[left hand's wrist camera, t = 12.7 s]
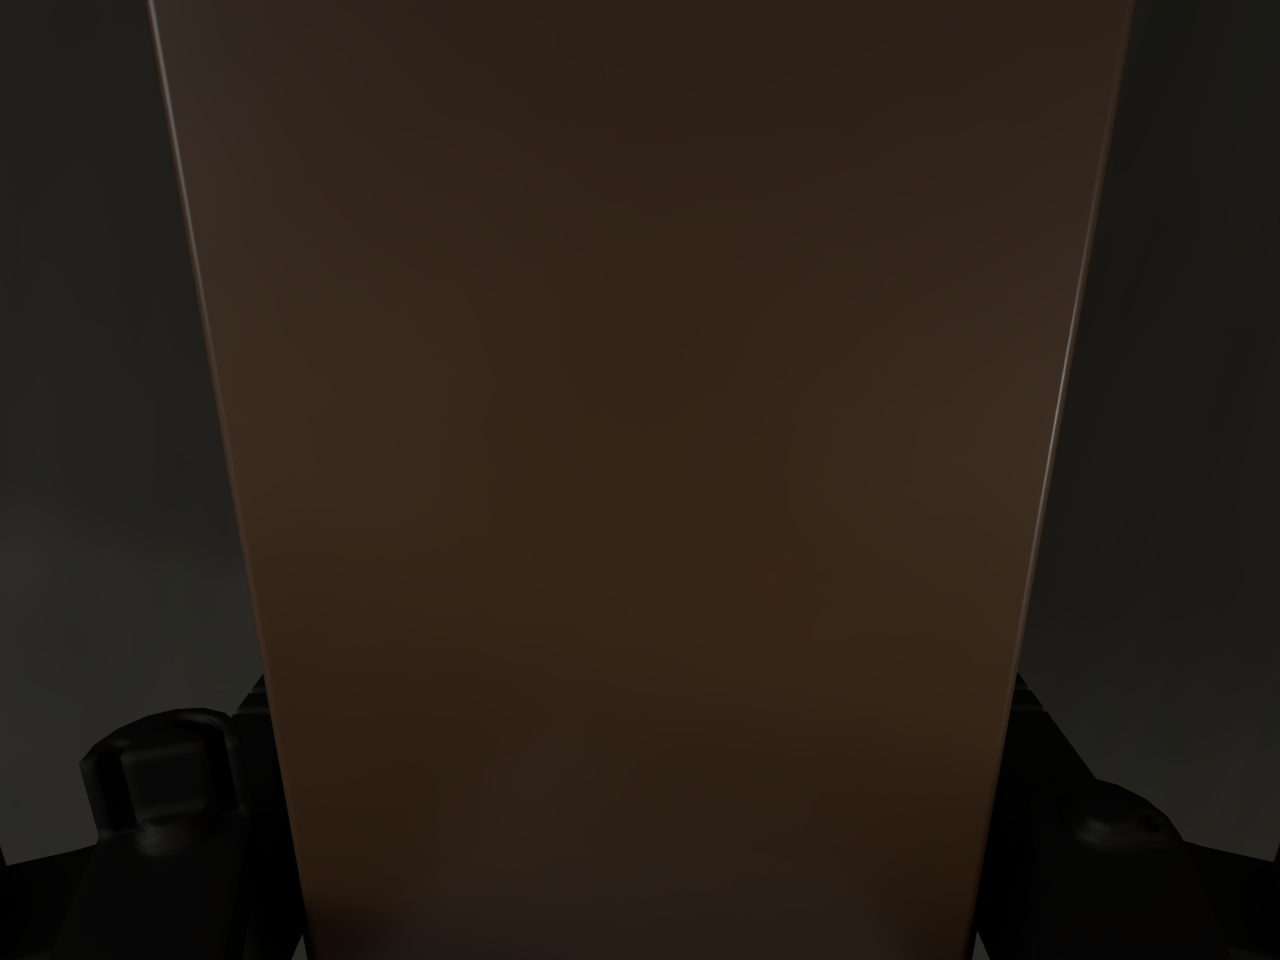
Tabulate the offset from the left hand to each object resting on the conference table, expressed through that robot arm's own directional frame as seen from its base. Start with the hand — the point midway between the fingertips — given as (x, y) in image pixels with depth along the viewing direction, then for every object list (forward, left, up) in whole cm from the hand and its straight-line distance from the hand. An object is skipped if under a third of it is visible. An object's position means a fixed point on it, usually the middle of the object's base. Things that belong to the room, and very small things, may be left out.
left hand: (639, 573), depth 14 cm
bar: (+5, +6, -1) cm, 8 cm away
